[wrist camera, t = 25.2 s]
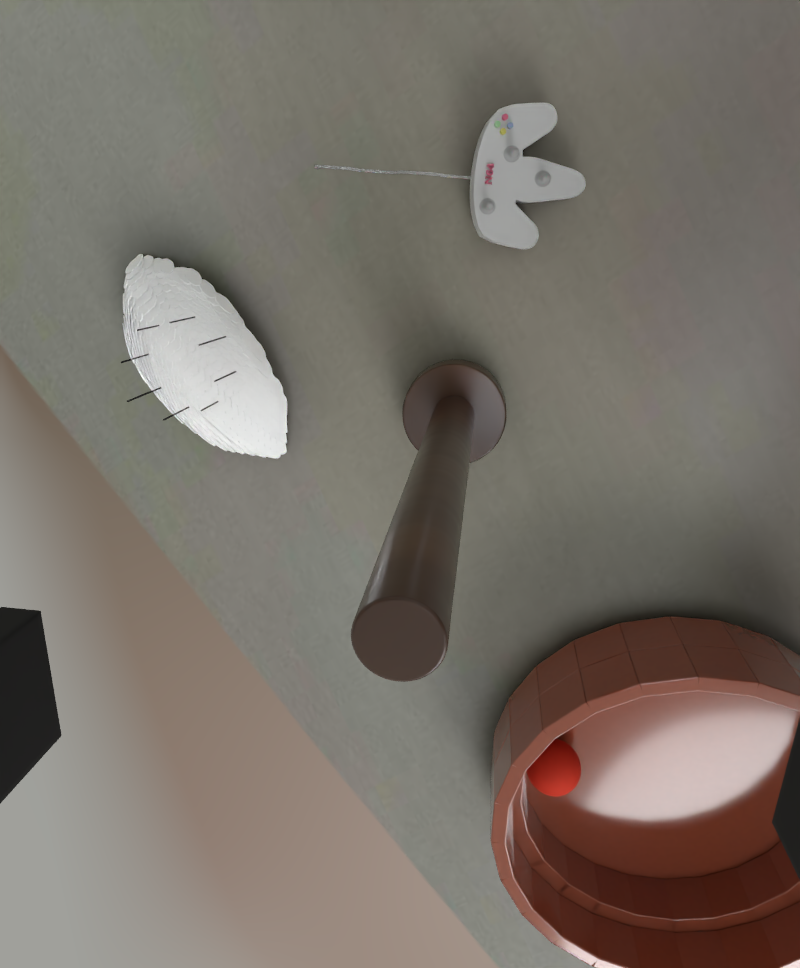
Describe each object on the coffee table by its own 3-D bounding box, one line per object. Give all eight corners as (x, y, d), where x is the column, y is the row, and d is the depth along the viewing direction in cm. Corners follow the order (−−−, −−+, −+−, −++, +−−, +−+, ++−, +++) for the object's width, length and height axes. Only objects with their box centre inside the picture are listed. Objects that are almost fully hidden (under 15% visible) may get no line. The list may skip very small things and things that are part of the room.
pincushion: (329, 421, 35) (300, 451, 30) (242, 481, 37) (199, 520, 31) (182, 219, 33) (122, 212, 27) (96, 293, 34) (24, 301, 29)
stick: (407, 356, 33) (274, 518, 13) (509, 361, 33) (533, 537, 13) (404, 454, 35) (283, 729, 15) (501, 459, 34) (513, 754, 14)
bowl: (505, 596, 37) (507, 658, 31) (890, 629, 35) (968, 702, 29) (481, 867, 43) (479, 959, 38) (805, 910, 41) (854, 1014, 35)
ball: (552, 775, 35) (599, 776, 36) (532, 725, 37) (576, 727, 39) (528, 807, 37) (574, 807, 38) (509, 758, 39) (553, 759, 40)
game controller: (588, 234, 30) (595, 232, 28) (346, 291, 33) (333, 294, 30) (569, 95, 29) (576, 81, 26) (316, 166, 31) (300, 159, 29)
